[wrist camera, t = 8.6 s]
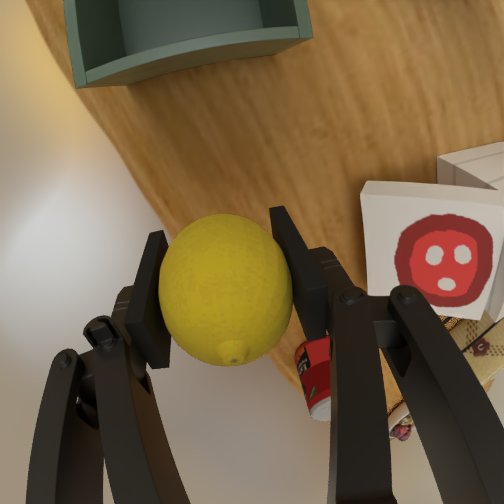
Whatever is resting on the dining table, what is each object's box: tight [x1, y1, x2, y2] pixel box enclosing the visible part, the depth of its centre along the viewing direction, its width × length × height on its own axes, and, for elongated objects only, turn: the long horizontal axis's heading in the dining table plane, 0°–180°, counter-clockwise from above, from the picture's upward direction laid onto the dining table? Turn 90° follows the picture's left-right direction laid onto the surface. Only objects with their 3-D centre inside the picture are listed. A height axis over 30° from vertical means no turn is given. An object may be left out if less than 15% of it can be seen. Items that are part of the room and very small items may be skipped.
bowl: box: [388, 401, 417, 441], centre depth 64 cm, size 30×30×8 cm
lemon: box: [158, 213, 293, 366], centre depth 12 cm, size 6×6×8 cm
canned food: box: [295, 336, 331, 421], centre depth 39 cm, size 8×8×11 cm
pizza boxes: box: [360, 141, 504, 323], centre depth 25 cm, size 19×30×18 cm, turn 107°
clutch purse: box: [443, 309, 504, 386], centre depth 41 cm, size 30×7×15 cm, turn 128°
